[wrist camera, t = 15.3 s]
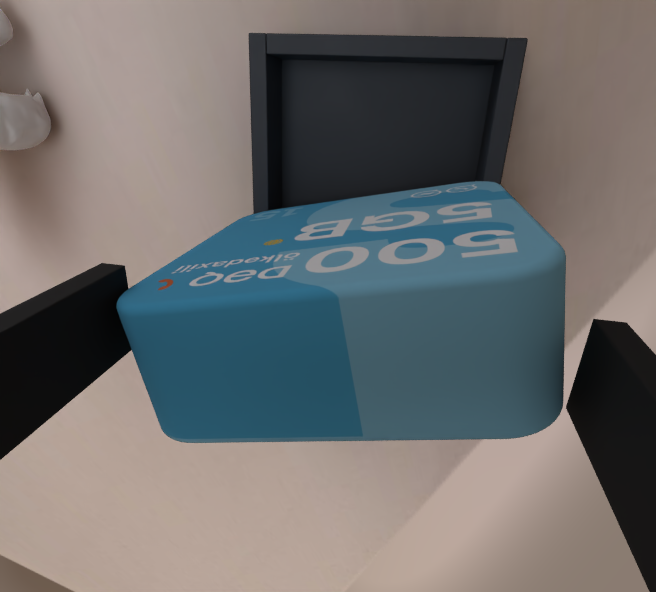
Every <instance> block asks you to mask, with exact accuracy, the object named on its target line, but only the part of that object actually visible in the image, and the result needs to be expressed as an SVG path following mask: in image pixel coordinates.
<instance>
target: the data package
mask: <svg viewBox="0 0 656 592" xmlns="http://www.w3.org/2000/svg"><path fill="white" fill-rule="evenodd" d="M565 274H566V255H565V251H564V249H563V248H562V246H561V245H560V244H559V243H558V242H557V241H556V240H555V239H554V238H553V237H552V236H551V235H550V234H549V233H548V232H547V231H546V230H545V229H544V228H543V227H542V226H541V225H540V224H539V223H538V222H537V221H536V220H535V219H534V218H533V217H532V216H531V215H530V214H529V213H528V212H527V211H526V210H525V209H524V208H523V207H522V206H521V205H520V204H519V203H518V202H517V201H516V200H515V199H514V198H513V197H512V196H511V195H510V194H509V193H508V192H507V191H506V190H505V189H504V188H503V187H502V186H501V185H500V184H498V183H495V182H488V181H475V182H463V183H455V184H448V185H441V186H434V187H428V188H421V189H414V190H407V191H400V192H393V193H386V194H379V195H372V196H365V197H358V198H351V199H344V200H337V201H330V202H323V203H317V204H310V205H303V206H296V207H289V208H282V209H275V210H269V211H264V212H260V213H256V214H252V215H249V216H246V217H243V218H241V219H239V220H237V221H235V222H234V223H232V224H231V225H229V226H228V227H226V228H224V229H223V230H221V231H220V232H218V233H216V234H215V235H213V236H212V237H210V238H209V239H207V240H205V241H204V242H202V243H201V244H199V245H197V246H196V247H194V248H193V249H191V250H190V251H188V252H186V253H185V254H183V255H182V256H180V257H178V258H177V259H175V260H174V261H172V262H171V263H169V264H167V265H166V266H164V267H163V268H161V269H159V270H158V271H156V272H155V273H153V274H152V275H150V276H148V277H147V278H145V279H144V280H142V281H140V282H139V283H137V284H136V285H134V286H133V287H131V288H129V289H128V290H127V291H125V292H124V293H123V294H122V295H121V296H120V297H119V299H118V301H117V305H116V308H117V312H118V314H119V317H120V320H121V322H122V325H123V328H124V330H125V333H126V336H127V338H128V341H129V344H130V346H131V349H132V352H133V354H134V357H135V359H136V362H137V365H138V367H139V370H140V373H141V375H142V378H143V381H144V383H145V386H146V389H147V391H148V394H149V397H150V399H151V402H152V405H153V407H154V410H155V413H156V415H157V418H158V421H159V423H160V426H161V429H162V430H163V432H164V433H165V434H166V435H167V436H168V437H170V438H172V439H174V440H176V441H180V442H186V443H220V442H298V441H376V440H454V439H511V438H519V437H524V436H528V435H532V434H534V433H537V432H539V431H541V430H543V429H545V428H546V427H548V426H550V425H551V424H552V423H553V422H554V421H555V420H556V419H557V417H558V416H559V414H560V412H561V410H562V407H563V383H564V329H565Z"/></svg>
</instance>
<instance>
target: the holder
mask: <svg viewBox="0 0 656 592" xmlns="http://www.w3.org/2000/svg"><path fill="white" fill-rule="evenodd" d="M527 41H528V39H527V38H494V37H439V36H384V35H328V34H273V33H267V34H265V33H249V61H250V97H251V133H252V169H253V205H254V214H256V213H260V212H264V211H269V210H275V209H282V208H289V207H296V206H303V205H310V204H317V203H323V202H330V201H337V200H344V199H351V198H358V197H365V196H372V195H379V194H386V193H393V192H400V191H407V190H414V189H421V188H428V187H434V186H441V185H448V184H455V183H463V182H475V181H488V182H495V183H498V184H501V179H502V174H503V168H504V163H505V158H506V152H507V147H508V142H509V137H510V131H511V126H512V121H513V115H514V110H515V105H516V99H517V94H518V89H519V84H520V78H521V73H522V68H523V62H524V57H525V52H526V47H527Z"/></svg>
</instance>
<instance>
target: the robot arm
mask: <svg viewBox="0 0 656 592" xmlns="http://www.w3.org/2000/svg"><path fill="white" fill-rule="evenodd" d="M127 290H128V283H127V277H126V270H125V266H123V265H114V264H105V263H101V264H99V265H97V266H95V267H93V268H91V269H89V270H87V271H85V272H83V273H81V274H79V275H77V276H75V277H73V278H71V279H69V280H67V281H65V282H63V283H61V284H59V285H57V286H55V287H53V288H51V289H49V290H47V291H45V292H43V293H41V294H39V295H37V296H35V297H33V298H31V299H29V300H27V301H25V302H23V303H21V304H19V305H17V306H15V307H13V308H11V309H9V310H7V311H5V312H3V313H1V314H0V460H1V459H2V458H3V457H4V456H5V455H7V454H8V453H9V452H10V451H11V450H13V449H14V448H15V447H16V446H17V445H19V444H20V443H21V442H22V441H23V440H25V439H26V438H27V437H28V436H29V435H31V434H32V433H33V432H34V431H35V430H36V429H38V428H39V427H40V426H41V425H42V424H44V423H45V422H46V421H47V420H48V419H50V418H51V417H52V416H53V415H54V414H56V413H57V412H58V411H59V410H60V409H62V408H63V407H64V406H65V405H66V404H67V403H69V402H70V401H71V400H72V399H73V398H75V397H76V396H77V395H78V394H79V393H81V392H82V391H83V390H84V389H85V388H87V387H88V386H89V385H90V384H91V383H93V382H94V381H95V380H96V379H97V378H98V377H100V376H101V375H102V374H103V373H104V372H106V371H107V370H108V369H109V368H110V367H112V366H113V365H114V364H115V363H116V362H118V361H119V360H120V359H121V358H122V357H124V356H125V355H126V354H127V353H128V352H129V351H131V350H132V349H131V346H130V344H129V341H128V338H127V336H126V333H125V330H124V328H123V325H122V322H121V320H120V317H119V314H118V312H117V308H116V305H117V301H118V299H119V297H120V296H121V295H122V294H123V293H124V292H125V291H127ZM566 409H567V411H568V413H569V415H570V417H571V420H572V422H573V424H574V426H575V429H576V431H577V433H578V435H579V437H580V440H581V442H582V444H583V446H584V448H585V451H586V453H587V455H588V457H589V459H590V461H591V464H592V466H593V468H594V470H595V473H596V475H597V477H598V479H599V481H600V484H601V486H602V488H603V490H604V492H605V495H606V497H607V499H608V501H609V503H610V506H611V507H612V510H613V512H614V514H615V516H616V519H617V521H618V523H619V525H620V528H621V530H622V532H623V534H624V536H625V539H626V540H627V543H628V545H629V547H630V550H631V552H632V554H633V556H634V558H635V560H636V563H637V565H638V567H639V569H640V572H641V574H642V576H643V578H644V580H645V582H646V585H647V587H648V589H649V591H650V592H656V355H655V354H654V353H653V352H652V350H651V349H649V347H648V346H647V345H646V344H645V343H644V342H643V340H642V339H641V338H640V337H639V336H638V335H637V334H636V333H635V332H634V330H633V329H632V328H631V327H630V326H629V325H628V324H627V323H624V322H615V321H606V320H598V319H593V322H592V325H591V329H590V332H589V335H588V338H587V342H586V345H585V348H584V351H583V354H582V358H581V361H580V364H579V367H578V371H577V374H576V377H575V380H574V383H573V387H572V390H571V393H570V397H569V400H568V403H567V406H566Z"/></svg>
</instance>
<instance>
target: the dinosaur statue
mask: <svg viewBox="0 0 656 592" xmlns="http://www.w3.org/2000/svg"><path fill="white" fill-rule="evenodd" d="M12 37H13V27H12V25H11V22H10V20H9V19H8V17H7V16H6V15H5V13H4V12H3V11H2V10H1V7H0V46H2V45H4V44H6V43H7V42H8V41H10V40H11V39H12ZM50 130H51V120H50V117H49V114H48V112H47V110H46V108H45V105H44V102H43V99H42V97H41V95H40V94H39V92H37V93H36V95H35V96H34V97H33V95H32V94H31V92H30V91H29V90H28V89H26V92H25V95H22V94H7V93H2V92H0V150H22V149H29V148H33V147H35V146H37V145H39V144H40V143H41V142H42V141H44V140H45V139H46V138H47V137H48V135H49V133H50Z"/></svg>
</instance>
